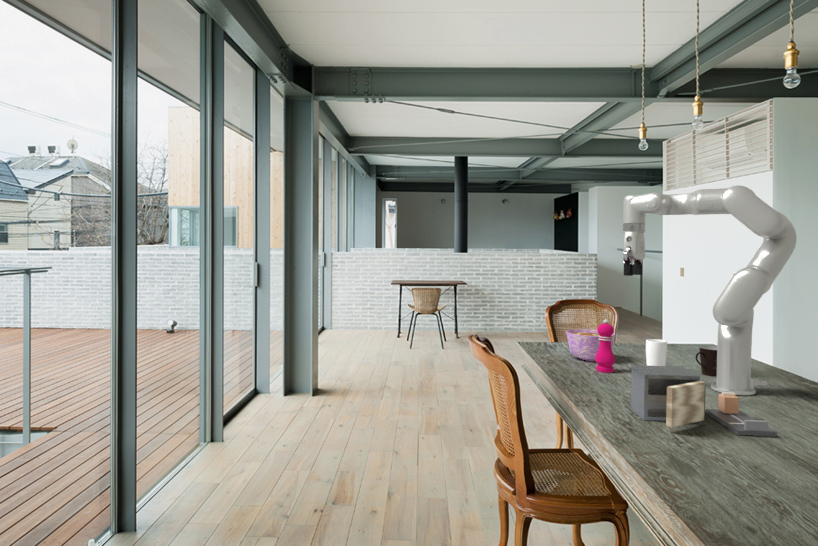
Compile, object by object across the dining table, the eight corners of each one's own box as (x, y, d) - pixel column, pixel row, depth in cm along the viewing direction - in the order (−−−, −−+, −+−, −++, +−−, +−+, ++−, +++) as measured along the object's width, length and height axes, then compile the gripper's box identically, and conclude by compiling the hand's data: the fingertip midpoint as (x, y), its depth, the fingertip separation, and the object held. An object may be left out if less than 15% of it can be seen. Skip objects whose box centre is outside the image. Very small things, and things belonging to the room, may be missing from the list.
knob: (731, 409, 145) (732, 391, 145) (738, 413, 141) (738, 394, 141) (718, 409, 145) (718, 390, 145) (724, 413, 142) (724, 394, 142)
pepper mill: (617, 373, 196) (618, 320, 195) (598, 373, 196) (599, 320, 195) (610, 369, 203) (611, 318, 202) (592, 368, 203) (593, 318, 202)
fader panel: (740, 414, 146) (740, 401, 146) (776, 437, 128) (777, 422, 128) (705, 413, 147) (706, 400, 147) (737, 435, 129) (737, 421, 129)
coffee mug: (718, 372, 198) (718, 346, 198) (729, 377, 190) (730, 350, 189) (686, 371, 199) (686, 345, 199) (696, 376, 191) (696, 349, 191)
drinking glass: (644, 384, 179) (645, 341, 179) (645, 380, 185) (646, 338, 185) (666, 386, 176) (667, 342, 176) (666, 382, 182) (667, 339, 182)
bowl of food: (575, 353, 235) (576, 327, 235) (621, 358, 223) (621, 332, 222) (557, 360, 220) (558, 332, 220) (605, 366, 207) (606, 337, 207)
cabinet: (681, 409, 151) (682, 366, 150) (698, 422, 139) (699, 376, 138) (630, 407, 152) (631, 365, 152) (643, 420, 140) (644, 374, 140)
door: (700, 423, 138) (701, 380, 138) (706, 425, 137) (707, 381, 136) (666, 431, 131) (666, 386, 131) (671, 433, 130) (672, 388, 130)
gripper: (636, 227, 182) (635, 276, 182) (652, 229, 195) (651, 274, 195) (614, 228, 187) (614, 275, 187) (631, 229, 200) (630, 274, 200)
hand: (633, 275), depth 191 cm, fingers open, 9 cm apart
